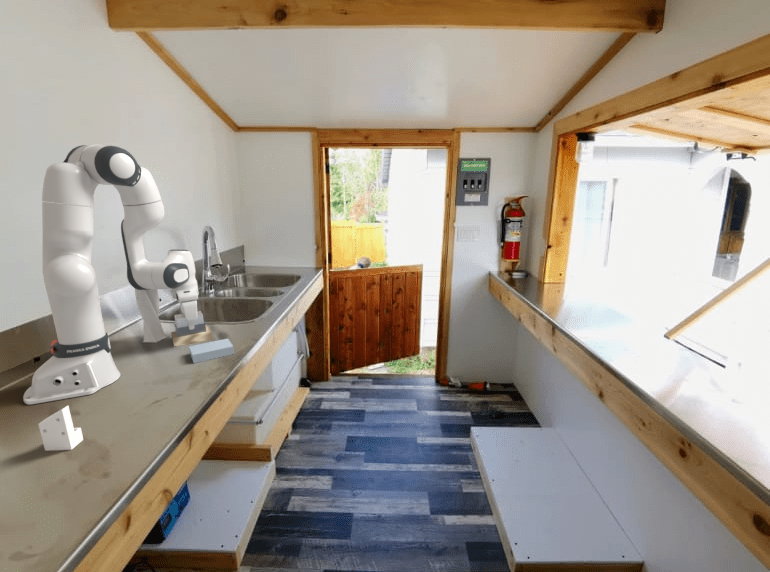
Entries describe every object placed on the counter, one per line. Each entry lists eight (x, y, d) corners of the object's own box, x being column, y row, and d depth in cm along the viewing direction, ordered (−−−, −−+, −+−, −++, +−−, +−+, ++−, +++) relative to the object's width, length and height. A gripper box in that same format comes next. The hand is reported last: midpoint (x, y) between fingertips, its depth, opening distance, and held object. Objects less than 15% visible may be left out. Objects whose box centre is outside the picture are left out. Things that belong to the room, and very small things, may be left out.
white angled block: (89, 439, 85) (61, 409, 83) (54, 460, 86) (26, 431, 84) (100, 429, 89) (74, 400, 87) (66, 449, 90) (40, 421, 88)
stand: (193, 363, 128) (192, 355, 128) (190, 354, 136) (189, 346, 135) (234, 354, 135) (233, 346, 134) (228, 346, 142) (228, 338, 142)
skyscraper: (172, 336, 153) (161, 268, 147) (158, 344, 146) (146, 272, 139) (152, 336, 154) (140, 267, 148) (137, 344, 146) (124, 272, 140)
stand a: (174, 346, 142) (173, 339, 142) (172, 339, 150) (171, 332, 149) (212, 339, 149) (211, 332, 149) (208, 332, 157) (207, 325, 156)
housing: (177, 337, 144) (174, 319, 142) (175, 332, 149) (173, 315, 147) (206, 331, 149) (203, 314, 147) (203, 327, 154) (201, 310, 152)
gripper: (173, 287, 152) (178, 320, 155) (178, 298, 135) (184, 335, 138) (191, 285, 155) (195, 317, 158) (198, 296, 138) (203, 332, 142)
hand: (190, 326), depth 148 cm, fingers open, 6 cm apart
